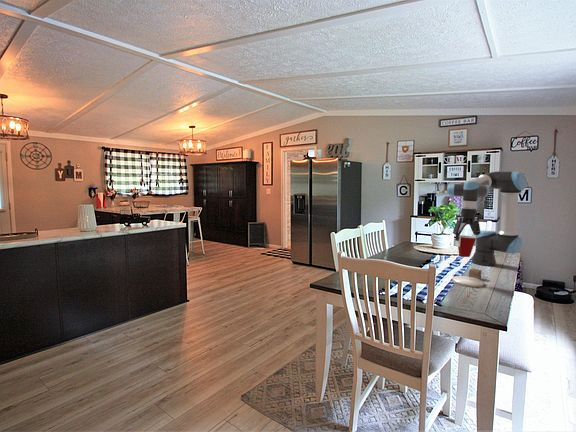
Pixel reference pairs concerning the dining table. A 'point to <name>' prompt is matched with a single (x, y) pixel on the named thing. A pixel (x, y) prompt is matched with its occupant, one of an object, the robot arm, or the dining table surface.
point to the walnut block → (475, 273)
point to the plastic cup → (466, 245)
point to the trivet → (468, 281)
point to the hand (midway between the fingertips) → (465, 245)
